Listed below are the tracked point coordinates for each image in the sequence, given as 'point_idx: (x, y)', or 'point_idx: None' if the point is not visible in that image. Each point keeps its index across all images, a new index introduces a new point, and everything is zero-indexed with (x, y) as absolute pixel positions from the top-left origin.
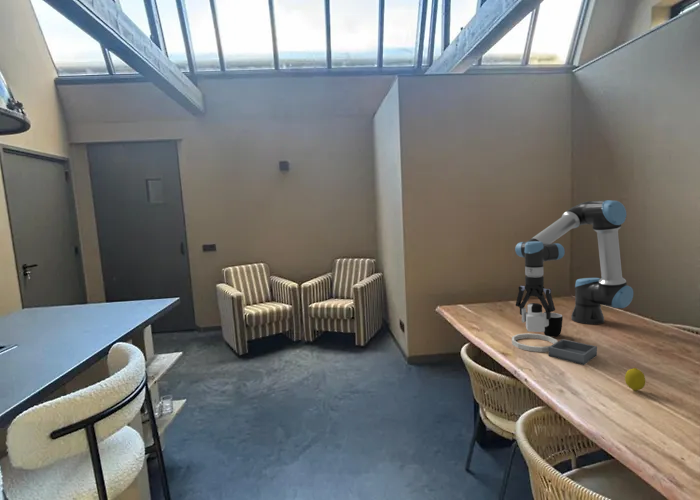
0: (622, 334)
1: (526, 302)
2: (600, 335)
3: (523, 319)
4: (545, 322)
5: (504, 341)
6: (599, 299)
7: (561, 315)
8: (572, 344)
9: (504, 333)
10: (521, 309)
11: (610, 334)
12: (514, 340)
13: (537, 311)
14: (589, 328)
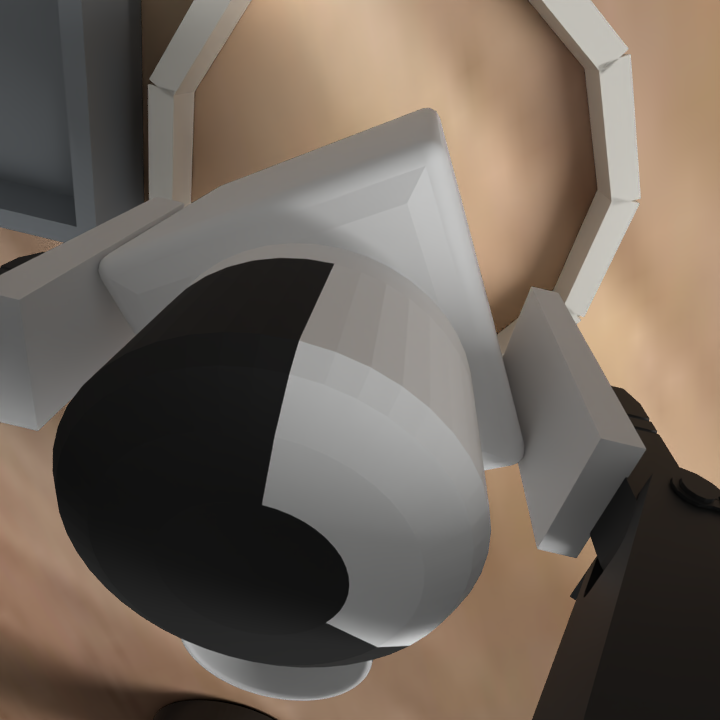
0: (7, 610)
1: (550, 678)
2: (77, 568)
3: (539, 315)
4: (125, 217)
5: (712, 127)
6: None
7: (198, 654)
8: (9, 199)
9: (710, 389)
10: (638, 461)
11: (48, 596)
12: (598, 65)
13: (174, 300)
14: (173, 649)
